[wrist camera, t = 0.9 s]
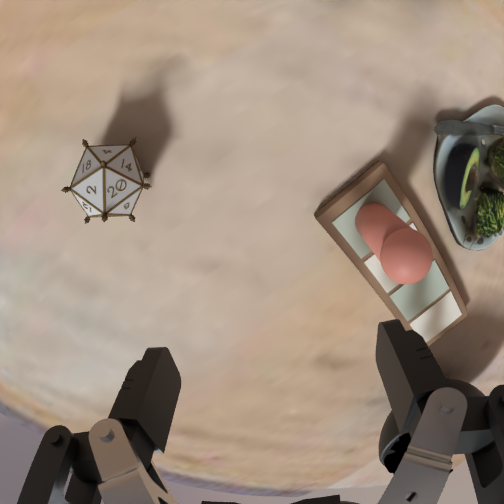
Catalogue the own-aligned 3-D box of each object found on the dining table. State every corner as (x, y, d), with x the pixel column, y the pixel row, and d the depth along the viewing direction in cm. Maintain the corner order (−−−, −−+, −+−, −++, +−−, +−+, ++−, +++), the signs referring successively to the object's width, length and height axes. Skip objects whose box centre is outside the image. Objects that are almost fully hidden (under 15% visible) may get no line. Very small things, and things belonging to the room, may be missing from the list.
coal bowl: (344, 413, 46) (362, 509, 29) (434, 337, 39) (488, 435, 21) (407, 433, 50) (429, 506, 33) (481, 372, 43) (521, 445, 26)
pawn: (377, 191, 29) (428, 229, 19) (399, 222, 30) (449, 270, 20) (344, 218, 30) (380, 268, 20) (368, 248, 31) (407, 305, 21)
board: (378, 160, 29) (384, 163, 27) (464, 308, 36) (469, 315, 35) (313, 214, 32) (316, 219, 30) (416, 345, 39) (420, 353, 38)
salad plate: (509, 76, 23) (532, 76, 19) (541, 193, 29) (561, 202, 25) (408, 134, 28) (428, 138, 24) (456, 260, 34) (474, 277, 30)
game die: (139, 151, 33) (141, 105, 24) (161, 217, 33) (168, 191, 24) (68, 175, 30) (46, 137, 20) (87, 245, 30) (64, 229, 21)
